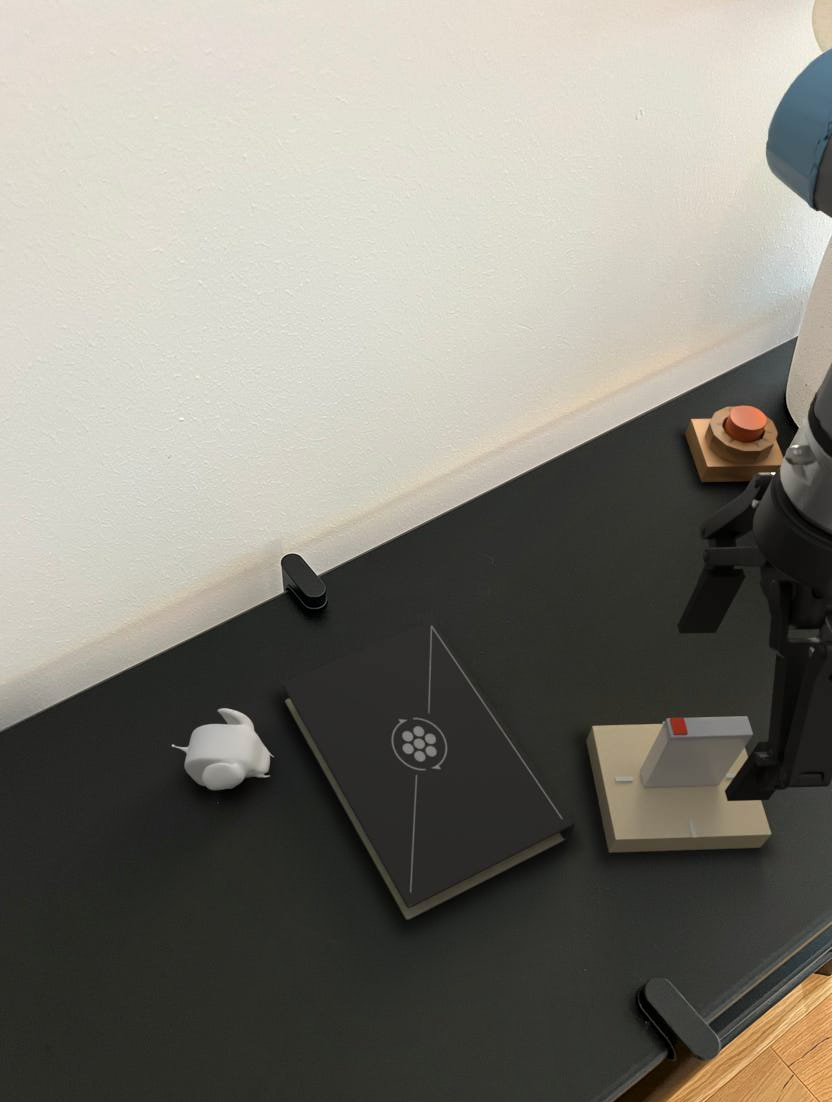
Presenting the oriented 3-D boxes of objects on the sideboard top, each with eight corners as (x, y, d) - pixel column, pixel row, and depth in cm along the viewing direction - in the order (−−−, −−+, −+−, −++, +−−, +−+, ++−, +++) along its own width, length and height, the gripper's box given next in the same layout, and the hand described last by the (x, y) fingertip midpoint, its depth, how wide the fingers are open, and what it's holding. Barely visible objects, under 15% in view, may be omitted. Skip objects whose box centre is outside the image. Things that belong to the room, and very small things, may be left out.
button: (755, 418, 100) (761, 404, 99) (765, 442, 98) (771, 429, 97) (720, 418, 100) (725, 405, 99) (729, 443, 98) (735, 430, 96)
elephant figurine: (267, 815, 78) (262, 781, 73) (169, 805, 79) (157, 770, 74) (281, 742, 82) (277, 704, 77) (186, 732, 83) (177, 694, 78)
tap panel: (727, 735, 83) (737, 719, 80) (761, 849, 77) (773, 834, 75) (585, 739, 82) (592, 723, 80) (608, 854, 76) (616, 840, 74)
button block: (759, 433, 104) (773, 403, 101) (778, 480, 100) (793, 451, 97) (685, 434, 104) (696, 405, 101) (701, 482, 100) (713, 453, 97)
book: (571, 838, 77) (578, 821, 75) (406, 922, 73) (408, 908, 71) (433, 638, 88) (436, 618, 86) (283, 701, 84) (281, 682, 82)
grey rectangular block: (714, 767, 78) (748, 713, 71) (719, 785, 77) (755, 733, 70) (639, 770, 78) (667, 716, 71) (643, 788, 77) (672, 735, 70)
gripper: (717, 343, 59) (630, 571, 76) (858, 697, 44) (711, 879, 61) (840, 341, 59) (726, 569, 76) (1021, 693, 44) (829, 875, 62)
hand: (719, 707), depth 69 cm, fingers open, 13 cm apart
